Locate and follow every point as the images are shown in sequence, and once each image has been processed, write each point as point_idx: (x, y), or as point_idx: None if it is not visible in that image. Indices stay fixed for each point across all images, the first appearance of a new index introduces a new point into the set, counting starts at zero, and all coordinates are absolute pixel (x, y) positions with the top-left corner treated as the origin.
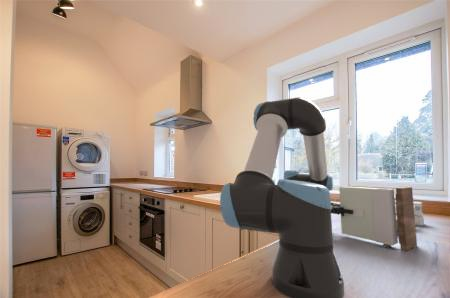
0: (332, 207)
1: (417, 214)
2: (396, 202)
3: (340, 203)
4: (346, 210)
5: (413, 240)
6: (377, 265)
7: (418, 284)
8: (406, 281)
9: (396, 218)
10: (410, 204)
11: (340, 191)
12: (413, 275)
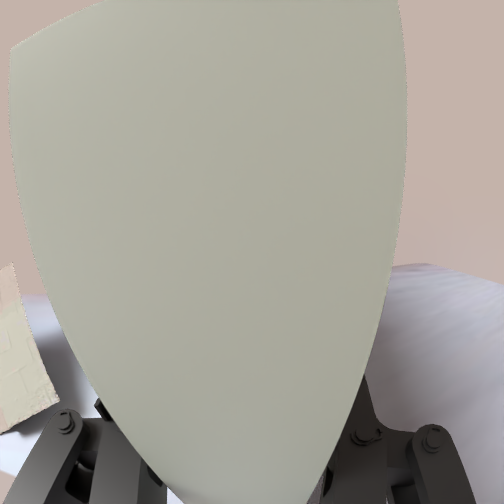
0: (470, 487)
1: None
2: None
3: (326, 461)
4: (364, 393)
5: None
6: (446, 322)
7: (437, 276)
8: (447, 284)
9: (9, 314)
10: None
11: (387, 186)
12: (416, 286)
